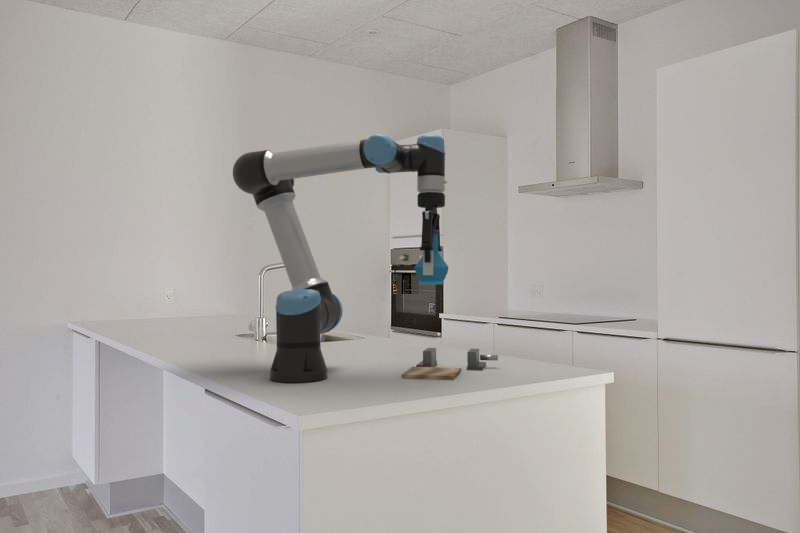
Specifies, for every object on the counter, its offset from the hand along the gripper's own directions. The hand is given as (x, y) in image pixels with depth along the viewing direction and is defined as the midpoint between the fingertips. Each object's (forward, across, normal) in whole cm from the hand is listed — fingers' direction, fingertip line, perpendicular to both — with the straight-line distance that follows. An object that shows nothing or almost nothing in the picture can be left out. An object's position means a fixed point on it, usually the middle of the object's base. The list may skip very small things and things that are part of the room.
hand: (431, 274), depth 183 cm
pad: (+27, 0, 0) cm, 27 cm away
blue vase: (+3, 0, 0) cm, 3 cm away
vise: (+27, +15, -5) cm, 31 cm away
